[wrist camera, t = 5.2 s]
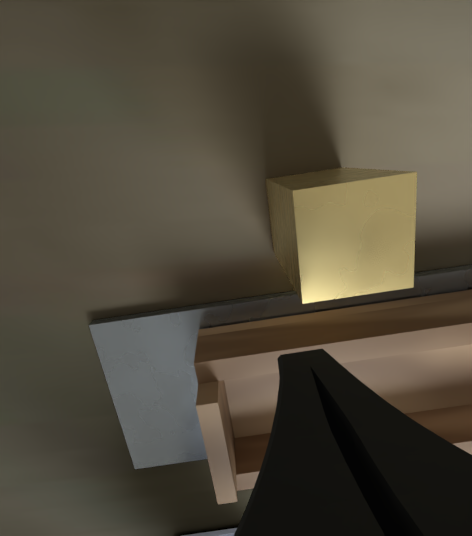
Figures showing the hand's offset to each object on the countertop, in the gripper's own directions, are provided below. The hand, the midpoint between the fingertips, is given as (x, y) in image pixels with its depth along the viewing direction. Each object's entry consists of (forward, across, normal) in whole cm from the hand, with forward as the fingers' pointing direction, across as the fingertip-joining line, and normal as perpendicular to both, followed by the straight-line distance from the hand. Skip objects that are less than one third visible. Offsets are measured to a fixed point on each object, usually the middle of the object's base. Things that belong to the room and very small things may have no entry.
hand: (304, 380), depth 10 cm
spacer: (+10, -3, -3) cm, 11 cm away
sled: (+9, -6, +7) cm, 13 cm away
